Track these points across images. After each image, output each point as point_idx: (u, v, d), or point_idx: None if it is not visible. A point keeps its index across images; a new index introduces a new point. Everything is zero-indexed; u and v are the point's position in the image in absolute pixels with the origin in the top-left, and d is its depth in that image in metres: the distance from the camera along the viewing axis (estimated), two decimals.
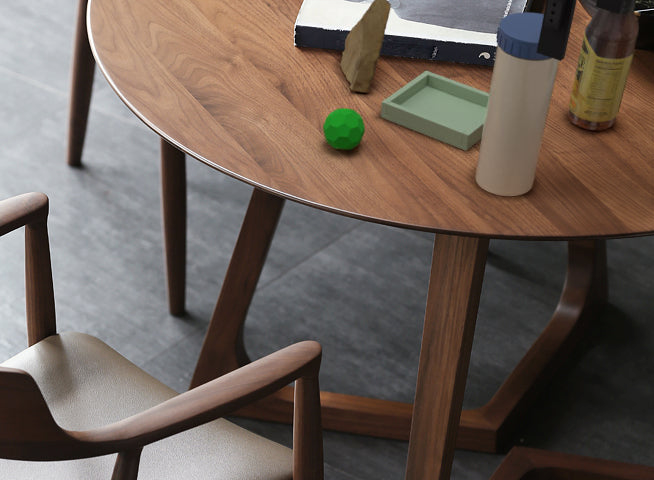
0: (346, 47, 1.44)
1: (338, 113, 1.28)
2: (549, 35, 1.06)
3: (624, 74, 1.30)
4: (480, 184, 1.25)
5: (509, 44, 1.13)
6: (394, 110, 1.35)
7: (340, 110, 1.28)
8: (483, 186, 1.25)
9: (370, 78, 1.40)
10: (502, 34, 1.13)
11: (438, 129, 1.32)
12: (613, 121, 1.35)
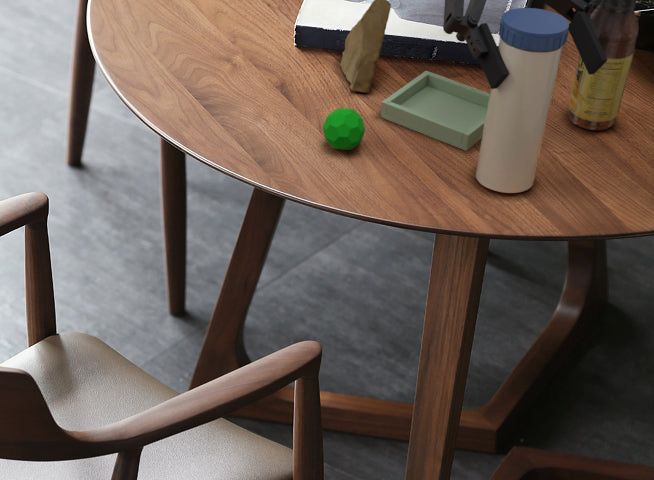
0: (346, 47, 1.44)
1: (338, 113, 1.28)
2: (488, 66, 1.17)
3: (624, 74, 1.30)
4: (481, 181, 1.25)
5: (511, 35, 1.13)
6: (394, 110, 1.35)
7: (340, 110, 1.28)
8: (484, 183, 1.25)
9: (370, 78, 1.40)
10: (504, 26, 1.14)
11: (438, 129, 1.32)
12: (613, 121, 1.35)
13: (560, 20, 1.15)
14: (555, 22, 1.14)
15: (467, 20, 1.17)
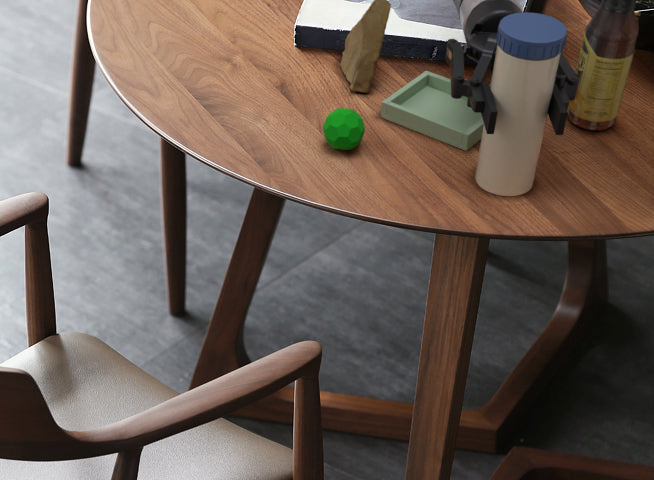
0: (346, 47, 1.44)
1: (338, 113, 1.28)
2: (485, 115, 1.18)
3: (624, 74, 1.30)
4: (480, 184, 1.25)
5: (508, 43, 1.13)
6: (394, 110, 1.35)
7: (340, 110, 1.28)
8: (483, 186, 1.25)
9: (370, 78, 1.40)
10: (501, 34, 1.13)
11: (438, 129, 1.32)
12: (613, 121, 1.35)
13: (558, 26, 1.14)
14: (553, 28, 1.14)
15: (470, 83, 1.21)
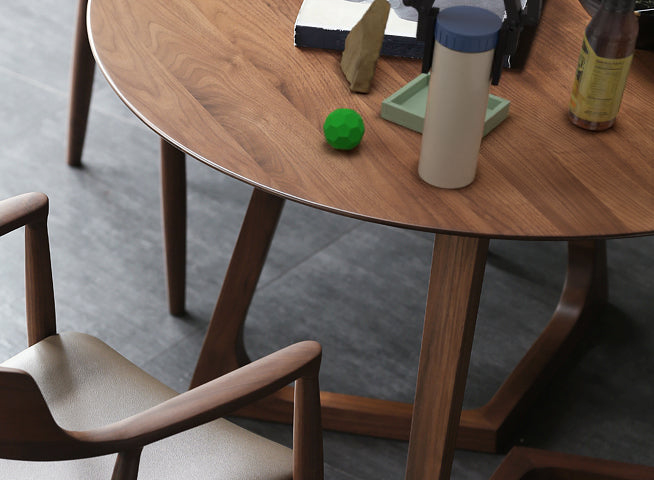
0: (346, 47, 1.44)
1: (338, 113, 1.28)
2: None
3: (624, 74, 1.30)
4: (422, 176, 1.26)
5: (444, 36, 1.14)
6: (394, 110, 1.35)
7: (340, 110, 1.28)
8: (425, 178, 1.26)
9: (370, 78, 1.40)
10: (438, 26, 1.14)
11: None
12: (613, 121, 1.35)
13: (494, 19, 1.15)
14: (489, 22, 1.14)
15: (418, 7, 1.14)
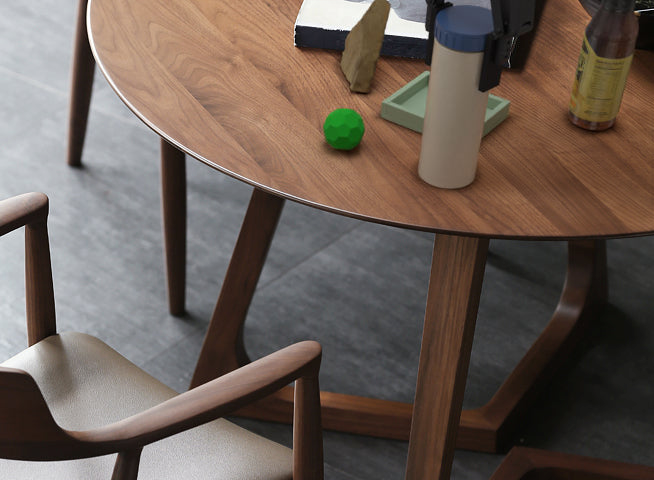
0: (346, 47, 1.44)
1: (338, 113, 1.28)
2: (492, 71, 1.15)
3: (624, 74, 1.30)
4: (422, 177, 1.26)
5: None
6: (394, 110, 1.35)
7: (340, 110, 1.28)
8: (425, 179, 1.26)
9: (370, 78, 1.40)
10: None
11: None
12: (613, 121, 1.35)
13: (444, 14, 1.15)
14: (452, 13, 1.15)
15: None
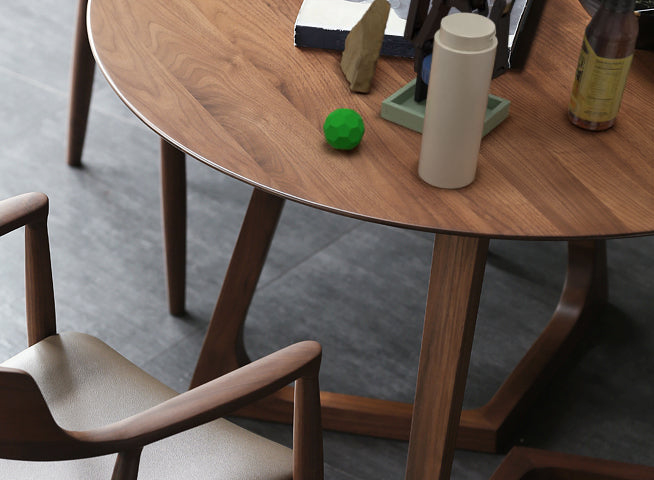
0: (346, 47, 1.44)
1: (338, 113, 1.28)
2: None
3: (624, 74, 1.30)
4: (422, 177, 1.26)
5: None
6: (394, 110, 1.35)
7: (340, 110, 1.28)
8: (425, 179, 1.26)
9: (370, 78, 1.40)
10: None
11: None
12: (613, 121, 1.35)
13: (430, 59, 1.33)
14: None
15: None
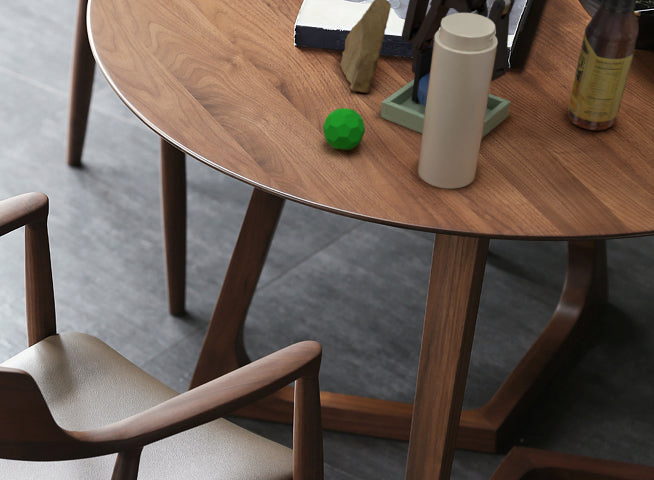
0: (346, 47, 1.44)
1: (338, 113, 1.28)
2: None
3: (624, 74, 1.30)
4: (422, 177, 1.26)
5: None
6: (394, 110, 1.35)
7: (340, 110, 1.28)
8: (425, 179, 1.26)
9: (370, 78, 1.40)
10: None
11: None
12: (613, 121, 1.35)
13: (426, 79, 1.35)
14: None
15: None
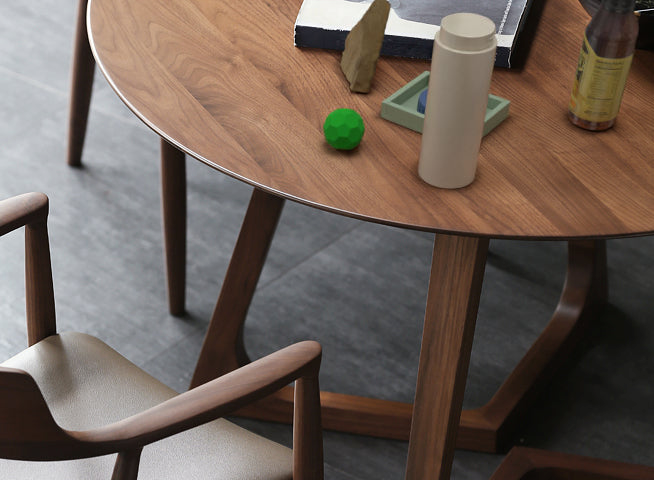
0: (346, 47, 1.44)
1: (338, 113, 1.28)
2: None
3: (624, 74, 1.30)
4: (422, 177, 1.26)
5: None
6: (394, 110, 1.35)
7: (340, 110, 1.28)
8: (425, 179, 1.26)
9: (370, 78, 1.40)
10: None
11: None
12: (613, 121, 1.35)
13: (426, 94, 1.36)
14: None
15: None
